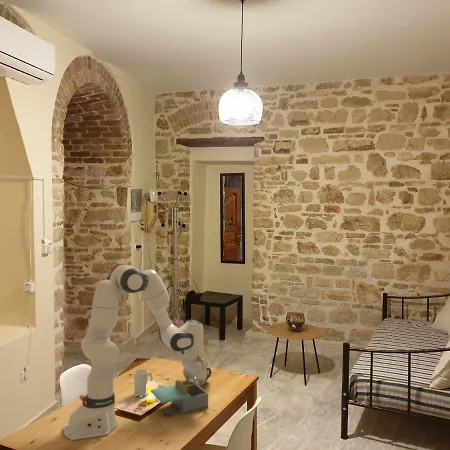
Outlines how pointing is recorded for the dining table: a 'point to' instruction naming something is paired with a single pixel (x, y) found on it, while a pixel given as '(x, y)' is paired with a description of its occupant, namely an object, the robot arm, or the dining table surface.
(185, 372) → the sugar bowl
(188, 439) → the dining table surface
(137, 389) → the mug
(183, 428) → the dining table surface
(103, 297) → the robot arm
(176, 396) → the lid
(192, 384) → the steel ball
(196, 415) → the dining table surface
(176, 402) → the bin
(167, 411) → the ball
